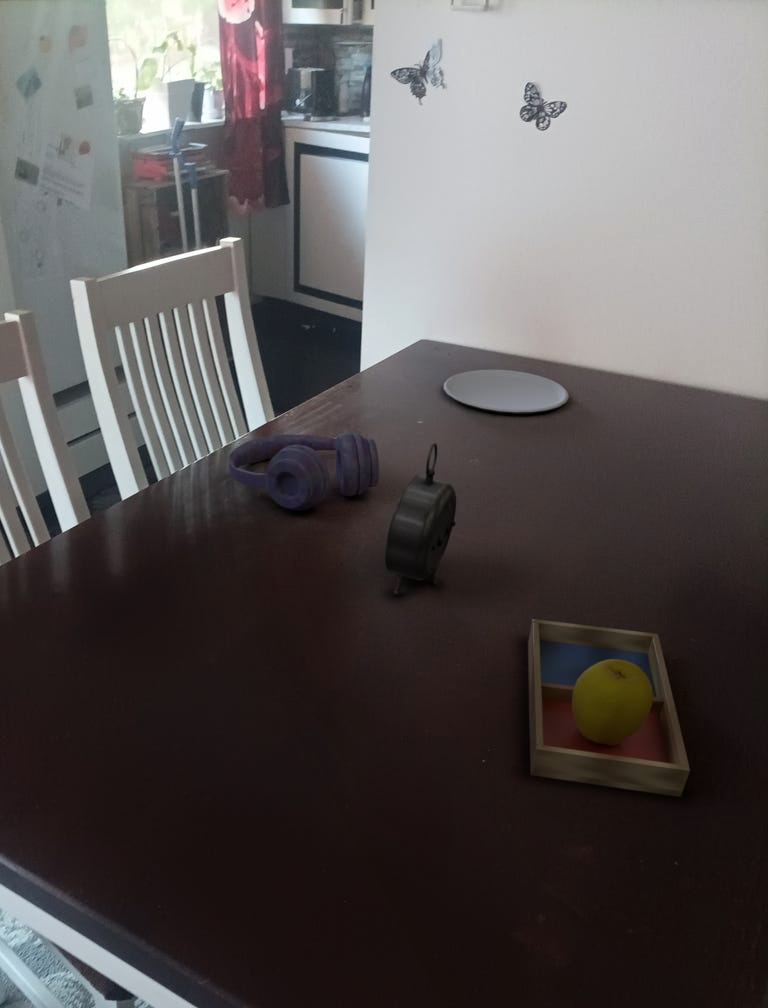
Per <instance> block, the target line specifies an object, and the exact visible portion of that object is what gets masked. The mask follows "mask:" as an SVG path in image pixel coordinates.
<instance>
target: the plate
mask: <svg viewBox="0 0 768 1008" xmlns="http://www.w3.org/2000/svg"><path fill="white" fill-rule="evenodd" d="M443 391H444V393H445V394H446V395H447V396H448V398H449V397H450V398H451V399H452V400H454V401H455V402H457V403H459V404H462V405H465V406H466V407H470V408H474V409H476V410H481V411H486V412H491V413H492V412H493V413H498V414H514V415H520V414H521V415H523V414H524V415H525V414H526V415H527V414H529V415H530V414H539V413H546V412H549V411H553V410H557V409H558V408H561V407H562V406H564V405H565V404H566V403H567V402H568V400H569V399H570V396H569V392H568V390H566V388H565V387H564V386H562V385H561V384H559V383H558V382H556V381H553V380H552V379H549V378H547V377H543V376H541V375H537V374H534V373H528V372H523V371H518V370H509V369H507V370H506V369H478V370H468V371H465V372H461V373H457V374H454V375H452V376H450V377H449V378H447V380H446V381H444V382H443Z"/></svg>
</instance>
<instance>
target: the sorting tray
mask: <svg viewBox="0 0 768 1008" xmlns="http://www.w3.org/2000/svg"><path fill="white" fill-rule="evenodd" d="M527 659H528V660H527V667H528V669H527V671H528V714H529V715H528V717H529V718H528V719H529V720H528V721H529V760H530V761H529V762H530V763H529V764H530V765H529V766H530V767H529V768H530V775H531V776H534V777H535V776H536V777H542V778H549V779H556V780H563V781H569V782H576V783H583V784H588V785H589V784H590V785H596V786H603V787H610V788H615V789H616V788H617V789H623V790H632V791H636V792H643V793H644V792H645V793H651V794H659V795H665V796H671V797H678V798H681V797H682V794H683V791H684V789H685V787H686V783H687V781H688V778H689V775H690V772H691V769H690V764H689V760H688V756H687V755H688V754H687V751H686V747H685V743H684V739H683V735H682V730H681V726H680V721H679V718H678V713H677V709H676V706H675V705H676V704H675V701H674V697H673V692H672V688H671V683H670V679H669V675H668V670H667V667H666V663H665V658H664V653H663V649H662V645H661V641H660V637H659V633H654V632H645V631H644V632H643V631H635V630H627V629H619V628H611V627H602V626H595V625H584V624H577V623H568V622H562V621H561V622H560V621H552V620H546V619H545V620H544V619H536V618H532V620H531V625H530V630H529V636H528V640H527ZM609 659H619V660H624V661H627V662H631V663H633V664H635V665H637V666H638V667H639V668H640V669H641V670H642V671H643V672H644V673H645V674H646V676H647V677H648V679H649V681H650V684H651V686H652V692H653V700H652V706H651V709H650V712H649V715H648V717H647V719H646V721H645V722H644V723H643V725H642V726H641V727H640V728H639V729H638V730H637V731H636V732H635V733H633V734H632V735H631V736H629V737H627V738H626V739H624V740H623V741H621V742H620V743H618V744H615V745H606V744H601V743H595V742H593V741H590V740H588V739H586V738H585V737H584V736H583V735H582V734H581V732H580V731H579V729H578V727H577V725H576V722H575V719H574V715H573V710H572V696H573V690H574V686H575V684H576V682H577V680H578V679H579V678H580V676H581V674H582V673H583V672H584V671H586V670H587V669H589V668H590V667H592V666H593V665H595V664H597V663H599V662H601V661H605V660H609Z"/></svg>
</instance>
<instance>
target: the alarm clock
mask: <svg viewBox="0 0 768 1008" xmlns="http://www.w3.org/2000/svg"><path fill="white" fill-rule="evenodd" d="M433 450H434V455H433V456H434V457H433V462H432V466H431V467H430V461H431V457H432V453H433ZM437 459H438V445H437V443H436V442H433V443H432V444H431V445H430V446H429V450H428V453H427V458H426V463H425V464H426V465H425V467H426V468H425V475H426V476H422V475H420V474H416V475H413V476H412V478H410V479H409V481H408V482H407V483H406V484H405V486H404V488H403V490H402V492H401V494H400V496H399V498H398V500H397V502H396V505H395V507H394V510H393V514H392V517H391V521H390V524H389V528H388V532H387V537H386V542H385V551H384V564H385V568H386V570H387V572H389V573H392V574H394V575H395V574H396V575H397V580H396V584H395V589H394V590H393V593H392V595H393V596H395V597H398V596H399V595H400V589H401V588H402V586H403V583H404V581H405V579H406V578H408V579H413V580H416V581H425V580H426V579H428V578H431V580H432V583H433V584H434V585H435V586H438V582H437V578H436V572H437V569H438V566H439V565H440V563H441V561H442V559H443V556H444V554H445V552H446V550H447V546H448V543H449V541H450V538H451V534H452V530H453V527H455V526H456V521H455V517H456V511H457V495H456V490H455V489H454V487H453V486H452V484H451V483H449V482H445V481H442V480H438V479H434V475H436V470H435V467H436V463H437Z"/></svg>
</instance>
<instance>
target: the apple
mask: <svg viewBox="0 0 768 1008" xmlns="http://www.w3.org/2000/svg"><path fill="white" fill-rule="evenodd" d="M652 700H653V692H652V686H651V684H650V681H649V679H648V677H647V676H646V674H645V673H644V672H643V671H642V670H641V669H640V668H639V667H638V666H637V665H635V664H633V663H631V662H627V661H624V660H619V659H609V660H605V661H601V662H599V663H597V664H595V665H593V666H592V667H590V668H589V669H587V670H586V671H584V672H583V673H582V674H581V676H580V678H579V679H578V680H577V682H576V684H575V686H574V690H573V696H572V710H573V715H574V719H575V722H576V725H577V727H578V729H579V731H580V732H581V734H582V735H583V736H584V737H585V738H586V739H588V740H590V741H593V742H595V743H601V744H606V745H615V744H618V743H620V742H621V741H623V740H624V739H626V738H627V737H629V736H631V735H632V734H633V733H635V732H636V731H637V730H638V729H639V728H640V727H641V726H642V725H643V723H644V722H645V721H646V719H647V717H648V715H649V712H650V709H651V706H652Z"/></svg>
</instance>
